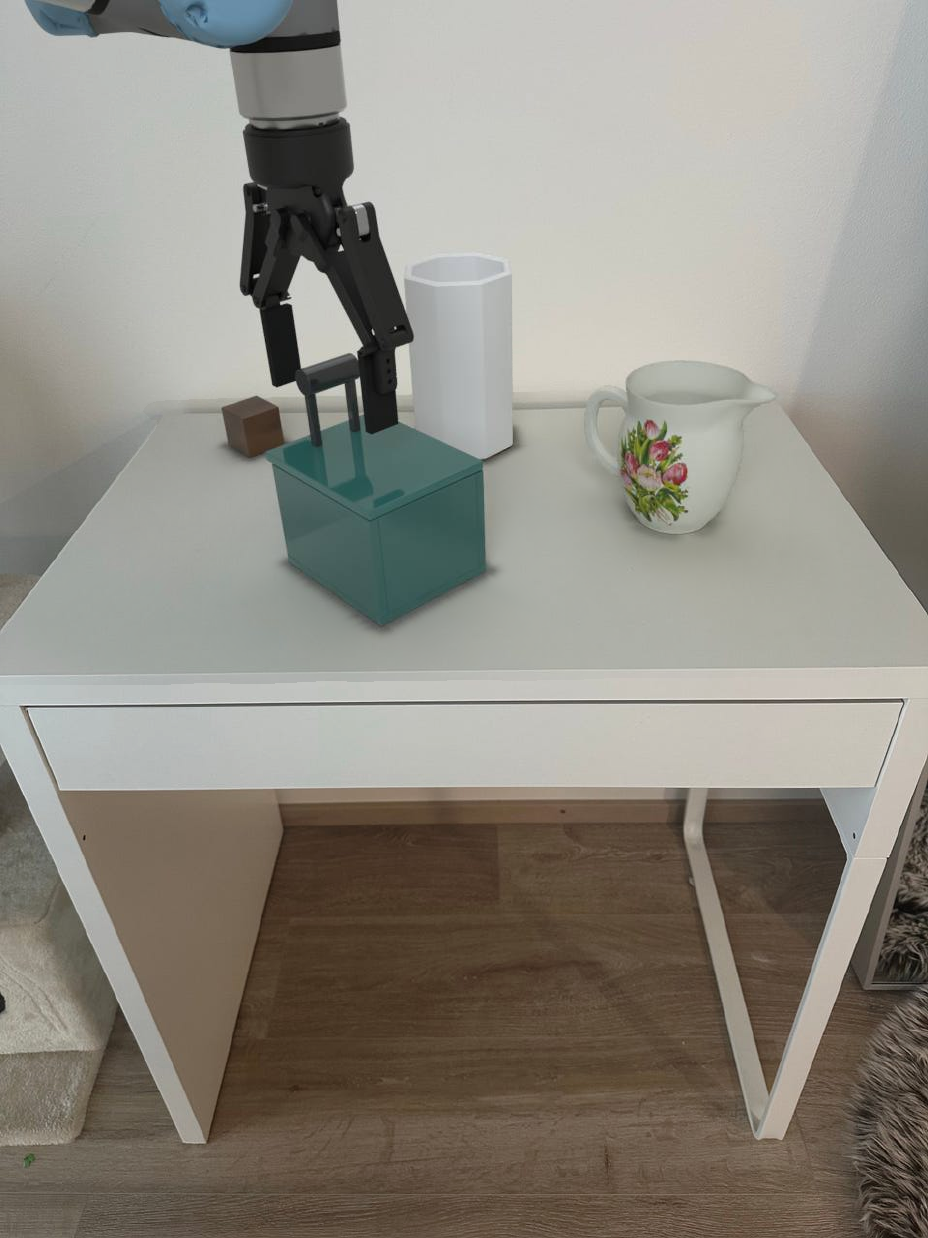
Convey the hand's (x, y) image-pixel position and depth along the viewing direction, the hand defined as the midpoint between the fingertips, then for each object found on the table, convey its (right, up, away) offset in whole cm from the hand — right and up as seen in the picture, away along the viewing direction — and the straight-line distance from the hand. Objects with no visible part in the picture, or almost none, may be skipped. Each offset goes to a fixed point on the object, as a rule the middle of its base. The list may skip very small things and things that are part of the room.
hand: (332, 404), depth 78 cm
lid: (+3, -5, -1) cm, 6 cm away
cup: (+11, +2, +25) cm, 27 cm away
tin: (+4, -13, +5) cm, 15 cm away
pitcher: (+30, -8, +11) cm, 33 cm away
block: (-12, +1, +26) cm, 28 cm away
